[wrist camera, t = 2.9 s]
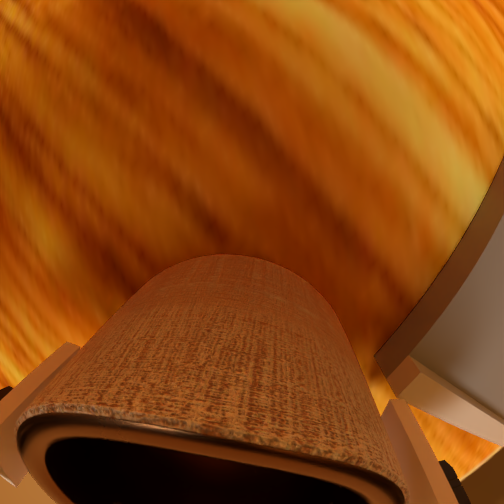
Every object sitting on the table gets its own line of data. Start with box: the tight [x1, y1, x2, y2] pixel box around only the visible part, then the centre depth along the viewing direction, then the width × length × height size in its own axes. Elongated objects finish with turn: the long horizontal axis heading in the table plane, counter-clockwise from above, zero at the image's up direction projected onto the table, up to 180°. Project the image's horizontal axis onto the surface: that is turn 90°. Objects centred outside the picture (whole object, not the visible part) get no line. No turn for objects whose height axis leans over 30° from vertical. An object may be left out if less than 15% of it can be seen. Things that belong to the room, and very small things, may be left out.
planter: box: [14, 254, 409, 504], centre depth 9 cm, size 11×11×10 cm
